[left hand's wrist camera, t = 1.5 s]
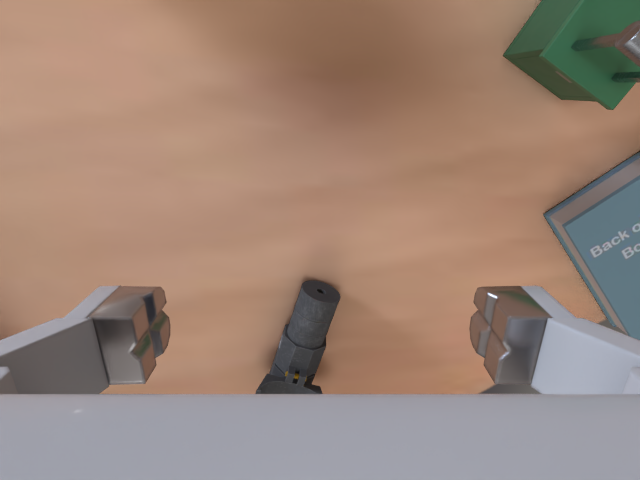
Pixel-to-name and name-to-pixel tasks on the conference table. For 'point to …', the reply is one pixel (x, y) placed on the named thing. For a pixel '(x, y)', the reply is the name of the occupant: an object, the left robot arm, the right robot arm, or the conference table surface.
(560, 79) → the chest
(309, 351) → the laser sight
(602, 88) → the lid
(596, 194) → the book
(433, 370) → the conference table surface
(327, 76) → the conference table surface
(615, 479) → the left robot arm
